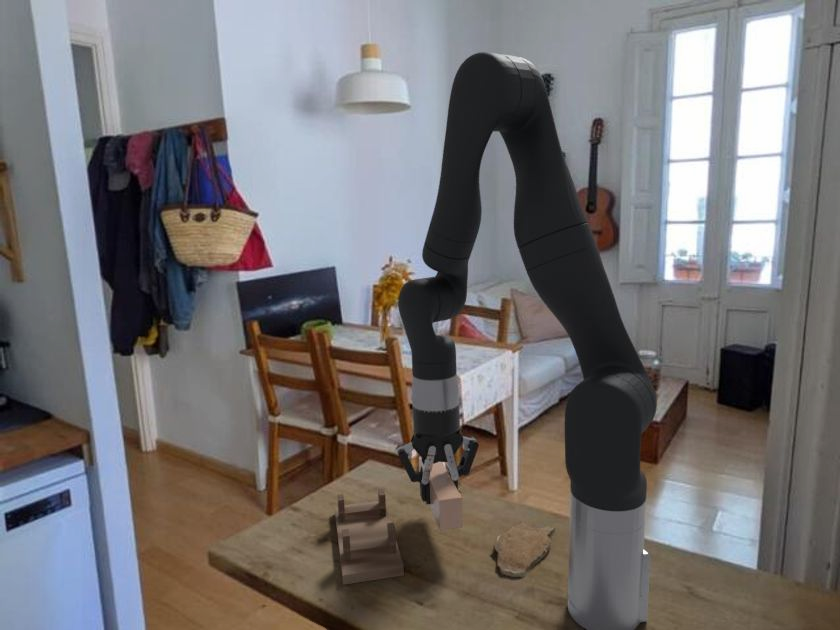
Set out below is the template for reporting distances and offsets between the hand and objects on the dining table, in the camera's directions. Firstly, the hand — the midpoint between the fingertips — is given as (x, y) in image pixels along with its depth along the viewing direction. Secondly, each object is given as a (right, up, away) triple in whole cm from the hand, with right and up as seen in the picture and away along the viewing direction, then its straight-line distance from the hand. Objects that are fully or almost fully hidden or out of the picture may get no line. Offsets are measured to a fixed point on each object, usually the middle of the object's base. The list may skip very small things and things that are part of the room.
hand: (439, 500), depth 96 cm
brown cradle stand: (-12, -7, -1) cm, 14 cm away
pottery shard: (+13, -7, -4) cm, 15 cm away
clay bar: (0, -1, 0) cm, 1 cm away
